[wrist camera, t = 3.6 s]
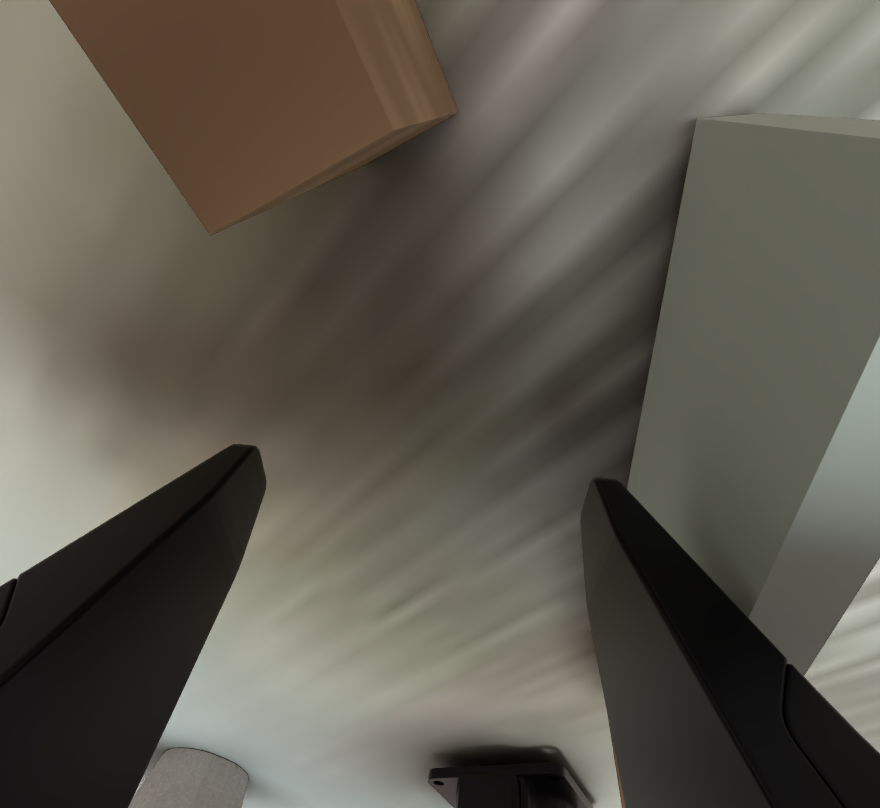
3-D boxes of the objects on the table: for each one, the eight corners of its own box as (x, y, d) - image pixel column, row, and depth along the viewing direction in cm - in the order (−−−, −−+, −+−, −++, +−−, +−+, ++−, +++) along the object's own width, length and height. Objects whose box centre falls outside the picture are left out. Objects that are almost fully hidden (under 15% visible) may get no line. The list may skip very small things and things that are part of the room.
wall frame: (682, 686, 17) (745, 903, 12) (625, 691, 18) (665, 899, 13) (405, -22, 7) (238, -213, 3) (305, 48, 8) (38, -17, 4)
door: (633, 627, 15) (686, 859, 10) (601, 625, 15) (639, 852, 11) (763, 113, 8) (1149, 137, 3) (696, 118, 8) (968, 147, 3)
